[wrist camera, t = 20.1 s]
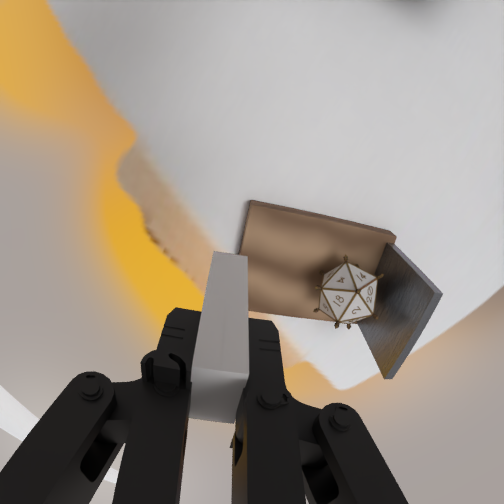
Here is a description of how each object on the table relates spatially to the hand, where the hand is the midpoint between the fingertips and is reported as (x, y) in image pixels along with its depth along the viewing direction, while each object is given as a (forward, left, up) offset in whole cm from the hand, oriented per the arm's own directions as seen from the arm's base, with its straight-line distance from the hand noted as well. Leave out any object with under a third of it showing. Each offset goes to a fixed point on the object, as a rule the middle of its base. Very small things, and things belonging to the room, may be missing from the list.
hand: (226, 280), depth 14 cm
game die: (+9, +15, -21) cm, 27 cm away
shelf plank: (+9, +12, -22) cm, 27 cm away
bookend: (+9, +21, -20) cm, 30 cm away
